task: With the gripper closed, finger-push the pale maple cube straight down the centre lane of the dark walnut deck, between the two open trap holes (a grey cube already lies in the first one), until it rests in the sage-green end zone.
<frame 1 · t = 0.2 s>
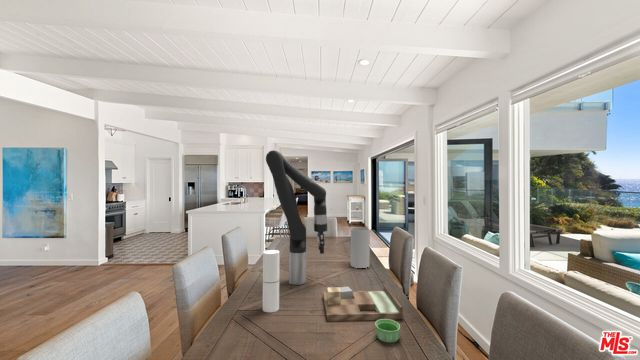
hand: (321, 251, 155), 17 cm above the table, tool pointing down, fingers open, 8 cm apart
ramekin: (387, 337, 101), on the table
trapped grey cube: (344, 300, 131), resting in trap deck
cylindrical container: (270, 309, 122), on the table
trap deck: (358, 307, 125), on the table
cylinder vase: (359, 266, 185), on the table
maple cube: (333, 301, 124), point 2 cm above the table, touching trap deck
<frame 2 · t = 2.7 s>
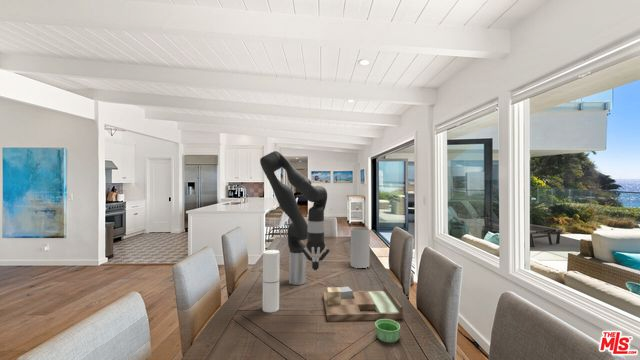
hand: (315, 269, 123), 17 cm above the table, tool pointing down, fingers closed
nothing on the table moved.
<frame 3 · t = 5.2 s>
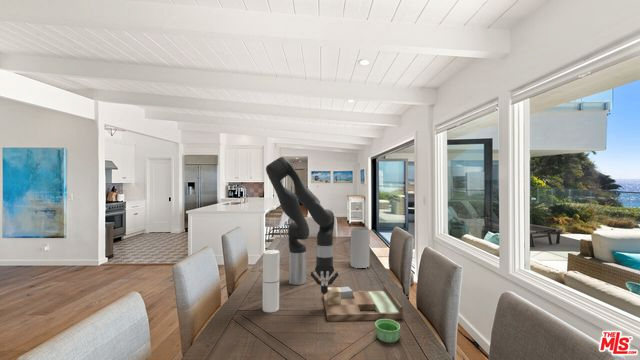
hand: (324, 293, 124), 6 cm above the table, tool pointing down, fingers closed
maple cube: (334, 301, 124), point 3 cm above the table, touching gripper
everything else where it was.
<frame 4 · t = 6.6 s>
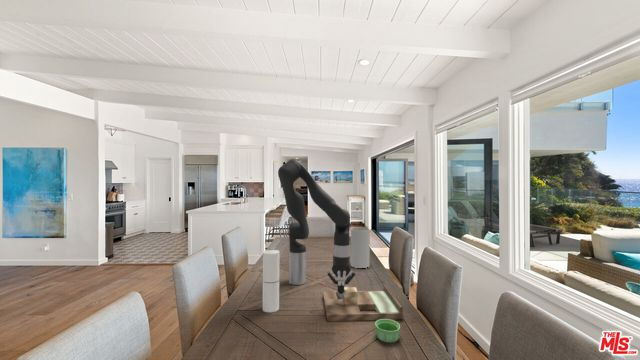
hand: (340, 293, 124), 6 cm above the table, tool pointing down, fingers closed
maple cube: (350, 301, 124), point 2 cm above the table, touching gripper, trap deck
everything else where it was.
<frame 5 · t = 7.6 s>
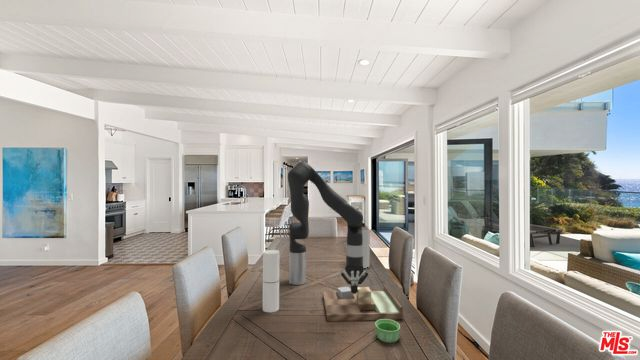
hand: (354, 293, 124), 6 cm above the table, tool pointing down, fingers closed
maple cube: (363, 301, 124), point 3 cm above the table, touching gripper, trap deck
everything else where it was.
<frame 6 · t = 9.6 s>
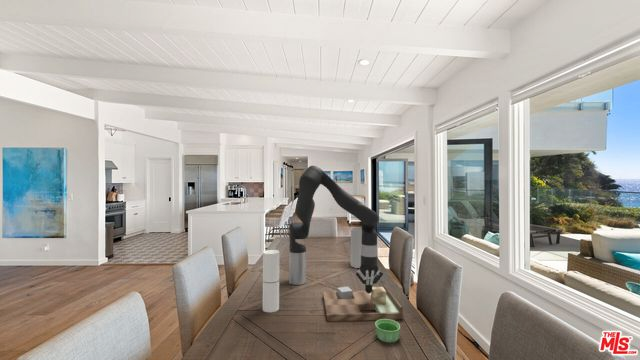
hand: (368, 292, 125), 6 cm above the table, tool pointing down, fingers closed
maple cube: (378, 301, 125), point 2 cm above the table, touching gripper, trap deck
everything else where it was.
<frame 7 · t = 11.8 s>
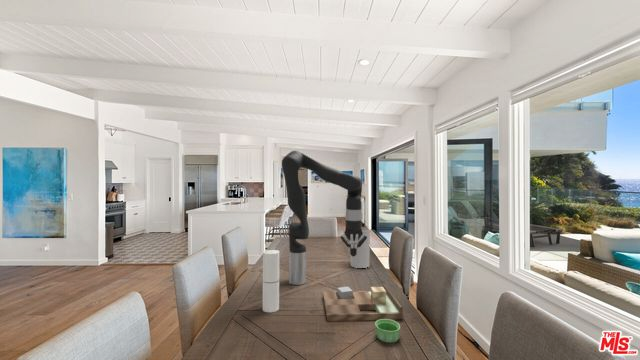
hand: (353, 255, 129), 22 cm above the table, tool pointing down, fingers closed
maple cube: (378, 301, 125), point 2 cm above the table, touching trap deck
everything else where it was.
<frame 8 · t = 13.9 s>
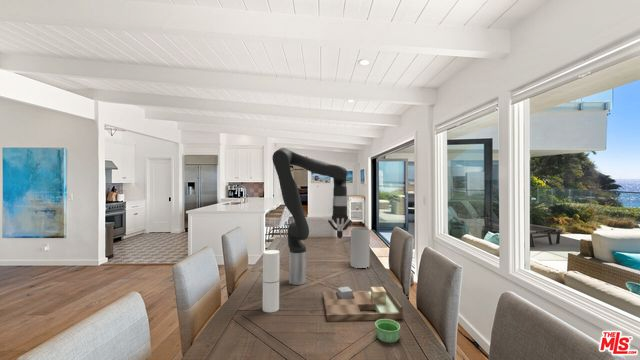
hand: (339, 238, 144), 27 cm above the table, tool pointing down, fingers closed
nothing on the table moved.
at the end: maple cube inside the target area on the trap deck (1.8 cm from its centre), point 2.5 cm above the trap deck's base; maple cube point 2.5 cm above the table; maple cube tilted 0° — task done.
